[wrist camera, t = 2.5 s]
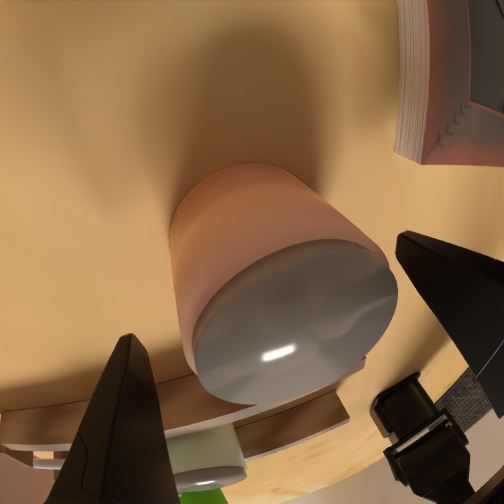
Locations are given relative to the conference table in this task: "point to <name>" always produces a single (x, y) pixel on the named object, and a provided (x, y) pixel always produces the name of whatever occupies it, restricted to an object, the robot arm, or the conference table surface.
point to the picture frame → (451, 82)
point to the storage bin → (464, 402)
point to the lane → (180, 421)
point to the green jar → (206, 459)
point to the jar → (273, 286)
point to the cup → (203, 497)
